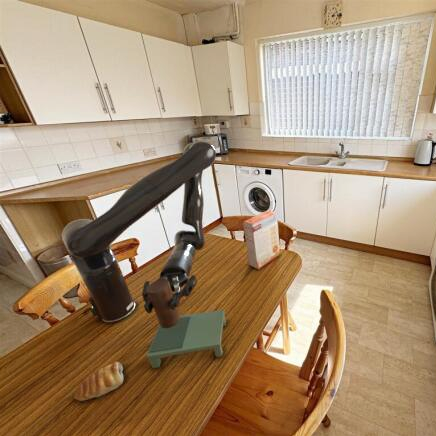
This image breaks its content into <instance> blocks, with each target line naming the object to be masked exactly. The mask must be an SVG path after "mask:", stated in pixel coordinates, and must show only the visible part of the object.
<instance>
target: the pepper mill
mask: <svg viewBox="0 0 436 436" xmlns="http://www.w3.org/2000/svg"><path fill="white" fill-rule="evenodd" d="M150 283H151V284H149V285H148V287H147V293H148V295H149V298H150V300H151V303H152V306H153V310H154V313H155V316H156V318H157V320H158V323H159V324H160V326H161V327H162V328H170V327H173V326H174V325H176V324H177V323H178V322H179V320H180V316H181V314H180V311H179V308H178V306H177V307H176V308H175V309H174V310H171V307H170V301H171V299H172V296H173V294H174V292H172V290H171V287H170V284H169V281H168V280H166V279H160V280H157V279H156V280H154V281H153V282H150Z"/></svg>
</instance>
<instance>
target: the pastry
mask: <svg viewBox="0 0 436 436" xmlns="http://www.w3.org/2000/svg"><path fill="white" fill-rule="evenodd" d="M123 370H124V367H123V365H122V364H121V363H120V362H119V361H114V362H113V363H110V364H108V365H105V366H104V367H101V368H99V369H98V370H97V371H96V372H94V373H93V374H92V375H91V376H90V377H88V378H86V379H85V380H84V381H82V383H80V385H78V386H77V388H76V390H75V394H74V397H73V398H74V399H75V400H77V401H79V402H83V401H87V400H91V399H94V398H100V397H101V396H104V395H106V394H108V393H110V392H111V391H113V390H116V389H118V388H119V387H120V386H121V385H122V384H123V383H124V377H125V376H124V374H123Z"/></svg>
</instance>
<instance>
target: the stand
mask: <svg viewBox="0 0 436 436" xmlns="http://www.w3.org/2000/svg"><path fill="white" fill-rule="evenodd" d="M225 314H226V313H225V309H220V310H219V309H218V310H213V311H205V312H197V313H190V314H184V315H180V320H179V322H178V323H177V324H176V325H174V326H173V327H170V328H162V327H161V326H160V323H159V325H158V327H157V329H156V331H155V332H156V333H155V334H154V336H153V339H152V342H151V344H150V347H149V348H148V351H147V354H146V357H145V358H146V359H147V360H149V363H150V365H151V367H152V369H156V368H160V366H161V363H162V359H161V358H164V357H165V358H166V357H172V356H176V355H183V354H188V353H195V352H199V351H200V352H201V351H207V350H212V349H213V351H214V355H215V358H219V357H223V353H224V352H223V347H222V338H223V330H224V327H226V323H227V321H226V316H225Z"/></svg>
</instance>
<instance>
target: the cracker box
mask: <svg viewBox="0 0 436 436" xmlns="http://www.w3.org/2000/svg"><path fill="white" fill-rule="evenodd" d="M278 223H279V222H278V213H277V212H274V211H271V210H268V209H267V210H265V211H263V212H261V213H259V214H257V215H255V216H253V217H249V218H248V219H246V220H244V221H242V225H243V231H244V237H245V244H246V252H247V258H248V265H249V266H251V267H252V268H254V269H256V270H261V268H263V267H264V266H266V265H268V264H269V263H270V262H271V261H273V260H274V259H276V258H277V257H278V256H280V255H281V249H280V248H281V247H280V236H279V224H278Z"/></svg>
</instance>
